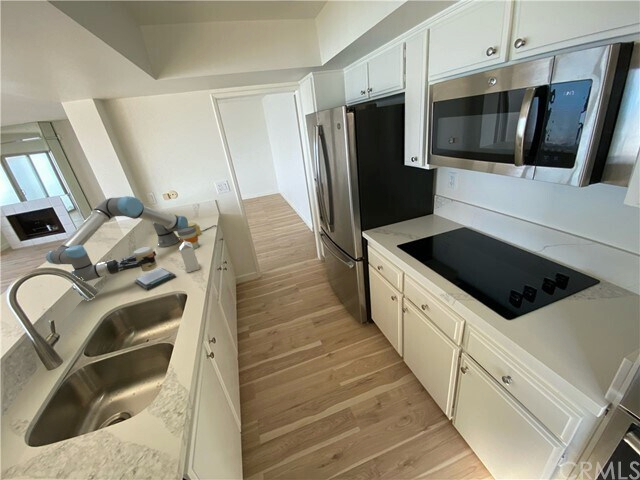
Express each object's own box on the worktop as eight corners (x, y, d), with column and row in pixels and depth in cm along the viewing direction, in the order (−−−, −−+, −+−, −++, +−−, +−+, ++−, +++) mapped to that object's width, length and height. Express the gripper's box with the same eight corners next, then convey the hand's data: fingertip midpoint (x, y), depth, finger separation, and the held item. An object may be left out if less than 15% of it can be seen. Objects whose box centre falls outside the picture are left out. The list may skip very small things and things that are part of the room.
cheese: (202, 233, 225) (198, 222, 221) (192, 238, 217) (188, 227, 213) (193, 233, 230) (190, 222, 226) (183, 237, 221) (179, 226, 217)
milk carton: (187, 272, 161) (177, 244, 153) (187, 268, 167) (177, 240, 159) (199, 269, 164) (190, 241, 156) (199, 264, 170) (190, 237, 162)
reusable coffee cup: (184, 252, 191) (177, 233, 185) (182, 247, 201) (175, 229, 195) (202, 247, 196) (196, 228, 190) (199, 242, 206) (193, 224, 200)
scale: (162, 270, 168) (161, 266, 167) (176, 277, 157) (174, 273, 156) (135, 282, 157) (133, 278, 156) (147, 290, 146) (146, 286, 145)
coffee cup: (150, 272, 150) (142, 253, 145) (136, 272, 152) (128, 253, 147) (162, 264, 158) (155, 246, 153) (149, 264, 160) (142, 246, 155)
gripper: (115, 266, 156) (158, 255, 165) (107, 282, 138) (156, 268, 147) (109, 255, 153) (153, 244, 162) (101, 269, 135) (151, 256, 144)
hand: (155, 255), depth 154 cm, fingers closed on coffee cup, 8 cm apart
